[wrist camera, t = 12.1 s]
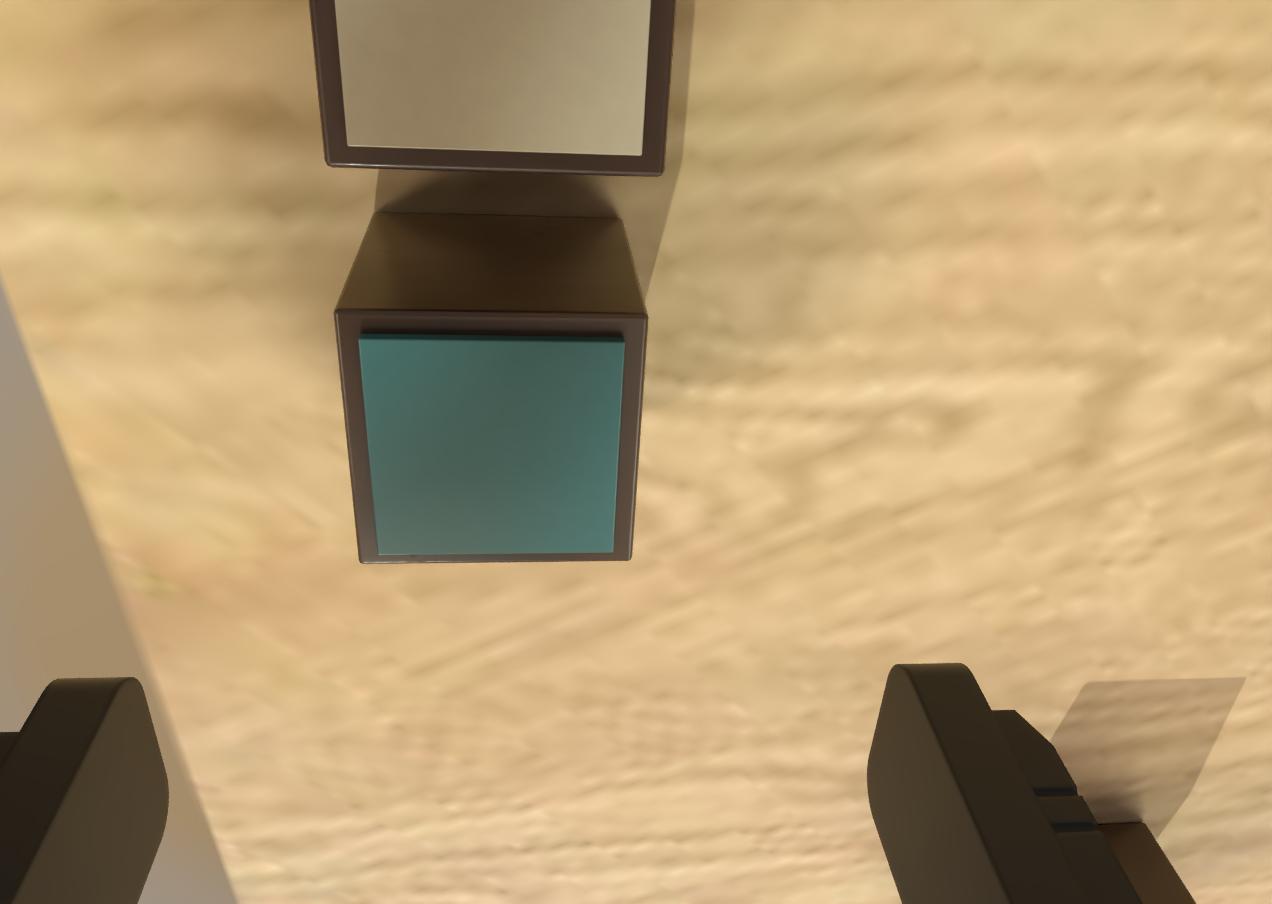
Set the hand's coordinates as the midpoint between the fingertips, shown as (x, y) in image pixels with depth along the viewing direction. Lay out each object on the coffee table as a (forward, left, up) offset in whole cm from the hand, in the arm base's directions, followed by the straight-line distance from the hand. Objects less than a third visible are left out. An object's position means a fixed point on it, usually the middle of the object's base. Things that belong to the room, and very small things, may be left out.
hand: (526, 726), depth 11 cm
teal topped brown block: (0, 0, -10) cm, 10 cm away
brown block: (0, -7, -10) cm, 12 cm away
